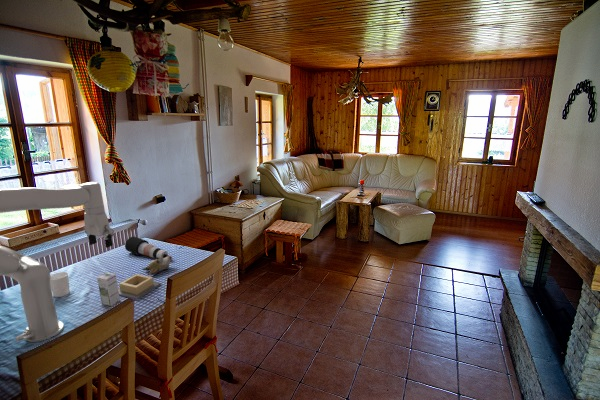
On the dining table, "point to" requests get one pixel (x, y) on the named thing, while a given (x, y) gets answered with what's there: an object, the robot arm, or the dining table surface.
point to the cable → (144, 248)
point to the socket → (137, 286)
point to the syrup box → (108, 289)
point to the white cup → (59, 284)
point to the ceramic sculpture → (158, 265)
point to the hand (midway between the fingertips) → (101, 245)
